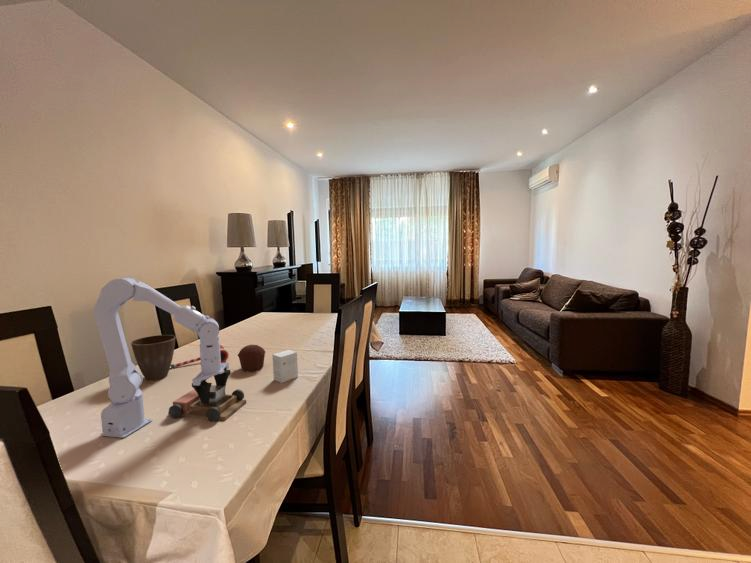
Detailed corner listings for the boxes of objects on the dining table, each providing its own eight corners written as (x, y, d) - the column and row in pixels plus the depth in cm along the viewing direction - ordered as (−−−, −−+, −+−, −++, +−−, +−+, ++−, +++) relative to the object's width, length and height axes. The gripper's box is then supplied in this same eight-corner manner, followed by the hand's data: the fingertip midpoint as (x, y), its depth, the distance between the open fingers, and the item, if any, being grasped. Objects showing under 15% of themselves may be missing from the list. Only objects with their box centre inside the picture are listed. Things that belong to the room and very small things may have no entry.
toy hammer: (172, 373, 136) (170, 358, 136) (170, 365, 146) (168, 352, 145) (229, 361, 150) (228, 348, 149) (224, 355, 159) (223, 342, 159)
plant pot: (161, 368, 141) (158, 333, 139) (186, 372, 136) (183, 336, 134) (125, 382, 127) (121, 342, 125) (152, 386, 122) (148, 346, 120)
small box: (290, 373, 133) (289, 349, 132) (298, 377, 129) (297, 351, 128) (273, 380, 127) (271, 354, 126) (281, 383, 123) (280, 357, 122)
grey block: (217, 410, 101) (215, 392, 100) (200, 409, 102) (198, 391, 101) (226, 403, 105) (224, 386, 105) (209, 402, 106) (208, 385, 106)
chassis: (222, 422, 95) (222, 409, 95) (165, 417, 99) (163, 405, 99) (248, 401, 109) (247, 389, 108) (196, 397, 112) (195, 386, 112)
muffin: (272, 365, 142) (270, 344, 141) (252, 374, 133) (250, 351, 132) (253, 362, 148) (252, 340, 147) (232, 370, 138) (231, 347, 137)
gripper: (206, 365, 94) (209, 409, 95) (235, 350, 108) (238, 388, 110) (185, 364, 95) (188, 408, 97) (217, 349, 109) (219, 387, 111)
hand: (213, 397), depth 103 cm, fingers open, 7 cm apart
